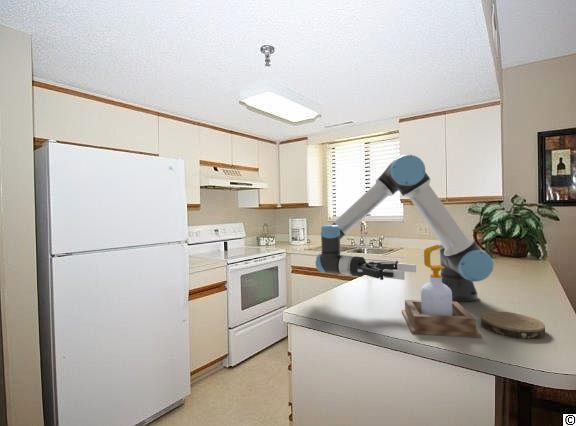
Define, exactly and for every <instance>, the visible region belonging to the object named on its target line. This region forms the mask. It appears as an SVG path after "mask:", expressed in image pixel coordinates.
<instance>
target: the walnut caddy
mask: <svg viewBox="0 0 576 426" xmlns="http://www.w3.org/2000/svg"><path fill="white" fill-rule="evenodd" d="M401 314H402V316H403V318H404V320H405V322H406V324H407V326H408V329H409V330H410V333H411V334H412V335H428V336H429V335H430V336H431V335H432V336H446V337H447V336H448V337H461V338H462V337H463V338H464V337H467V338H479V339H480V338H481V339H482V337H483V335H482V333H481V332H480V331H479V330H478V329H477V318H475V317H474V316H473V315H472V314H471V313H470V312H469V311H468V310H467V309H465V308H464V307H463V306H462V305H461V304H460V303H459V301H453V300H452V315H453V316H447V315H424V314H422V311H421V299H420V300H419V299H404V309H401Z"/></svg>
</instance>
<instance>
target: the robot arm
mask: <svg viewBox="0 0 576 426" xmlns="http://www.w3.org/2000/svg"><path fill="white" fill-rule="evenodd" d="M430 183H431V178H430V176H429V175H428V173H427V172H426V166H425V162H424V161H423V160H422V159H421V158H420V157H418V156H417V155H414V154H403V155H400V156H398V157H396V158H395V159H394V160H393V161H392V162H391V163H390V164H388V166H387V168H386V169H385V170H384V171H383V172H382V174H380V176H379V177H378V178H376V180H375V183H374V184H373V185H372V186H371V187H370V188H369V189H368V190H367V191H366V192H365V193H364V194H363V195H362V196H361V197H359V198H358V199H357V200H356V201H355V202H354V203H353V204H352V205H351V206H350V207H349V208H348V209H347V210H345V211H344V212H343V213H342V214H341V215H340V216H338V218H337V219H336V220H334V222H333V223H331V224H325V225H324V224H323V225H321V229H320V236H321V239H320V241H321V253H319V254H317V256H316V259H315V268H316V269H317V271H318V272H322V273H326V274H336V275H345V277H348V276H353V277H357V278H362V277H364V276H367V277H371V278H373V279H374V278H375V279H379V280H380V281H383V280H384V279H393V280H394V279H395V280H400V281H401V280H402V281H404V280H405V278H406V276H405V272H407V273H417V264H414V263H413V264H411V263H400V262H399V261H398V260H395V261H373V260H372V261H368V262H367V261H366V259H365V258H364V257H363V256H355V255H354V256H353V255H343V254H341V240H342V239H343V238H344V237H345V236H346V235H347V234H349V232H350V231H351V230H353V228H355V227H356V226H357V225H358V224H359V223H361V221H362V220H364V219H365V218H366V217H367V216H368V215H369V214H370V213H371V212H372V211H373V210H374V209H376V208H377V207H378V206H379V205H380V204H381V203H382V202H383V201H385V200H386V198H388V197H392V196H393V195H395V194H396V193H397V192H398V191H399V192H400V194H401V196H403V197H406V198H409V200H410V201H411V202H412V204H413V205H414V207H415V208H416V209H417V211H418V212H419V214H420V215H421V217H422V218H423V220H424V221H425V222H426V224H427V225H428V226H429V228H430V229H431V231H432V232H433V234H434V235H435V236H436V238H437V240H438V241H439V243H440V244H439V245H440V246H442V248H440V249H439V261H440V262H439V263H440V264H439V265H441V266H443V267H445V268H444V269H440V275H441V276H442V283H443V284H445V285H447V286H448V287H449V288H450V289H451V291H452V301H455V302H475V301H477V300H479V299H478V291H477V289H476V286H475V283H474V282H481V281H484V280H486V279H487V278H489V276H491V274H492V272H493V270H494V260H493V258H492V257H491V255H490V254H488V253H487V252H486V251H485V250H482V249H481V248H480V246H479V245H478V244H477V242H476V241H475V239H474V238H471V237H468V236H466V234H465V233H464V232H463V230H462V229H461V227H460V226H459V225H458V223H457V222H456V220H455V219H454V218H453V216H452V214H451V213H450V212H449V210H448V209H447V208H446V207H445V204H443V202H442V201H441V199H440V198H439V197H438V195H437V194H436V192H435V191H434V189H433V188H432V187H431V185H430Z"/></svg>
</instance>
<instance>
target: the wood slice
mask: <svg viewBox="0 0 576 426" xmlns="http://www.w3.org/2000/svg"><path fill="white" fill-rule="evenodd" d="M480 325H481V327H482V328H483V329H485V330H486V331H488V332H489V333H493V334H496V335H499V336H502V337H506V338H512V339H517V340H528V341H531V340H532V341H533V340H541V339H543V338H544V337H545V336H546V325H545V324H544V322H543V321H540V320H539V319H538V318H536V317H535V318H534V317H532V316H528V315H525V314H521V313H515V312H509V311H498V310H497V311H495V310H494V311H486V312H483V313H480Z"/></svg>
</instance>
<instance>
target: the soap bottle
mask: <svg viewBox="0 0 576 426" xmlns="http://www.w3.org/2000/svg"><path fill="white" fill-rule="evenodd" d="M440 245H441V244H435V245H433V246H429V247H426V248H425V249H424V250H423V262H424V266H425V267H427V268H429V269H430V270H431V272H432V274H430V275H429V276H430V278H429V279H430V280H429V282H427V283H425V284H424V285H423V286H422V287H421V289H420V298H421V299H420V300H421V311H422V314H424V315H447V316H453V315H452V301H453V300H452V291H451V289H450V288H449V287H448V286H447V285H445V284H443V283H442V276H441V274H440V273H439V272H441V269H444V268H445V267H443V266H441V265H440V264H439V265H438V264H431V254H432V252H434V251H437V250H440V248H442V246H440Z"/></svg>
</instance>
